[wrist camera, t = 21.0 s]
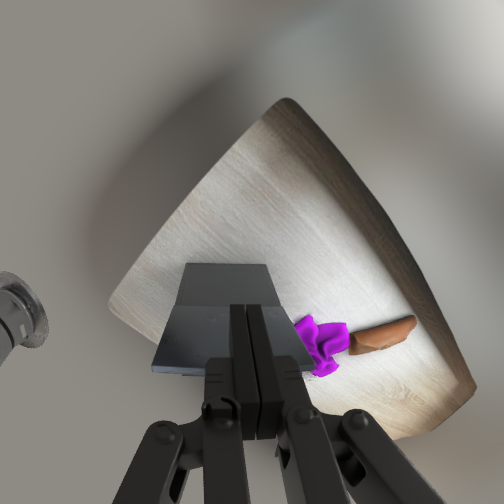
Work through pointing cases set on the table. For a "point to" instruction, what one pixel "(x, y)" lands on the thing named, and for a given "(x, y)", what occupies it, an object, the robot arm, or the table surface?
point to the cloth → (323, 343)
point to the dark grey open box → (226, 286)
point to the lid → (219, 339)
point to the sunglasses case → (381, 336)
